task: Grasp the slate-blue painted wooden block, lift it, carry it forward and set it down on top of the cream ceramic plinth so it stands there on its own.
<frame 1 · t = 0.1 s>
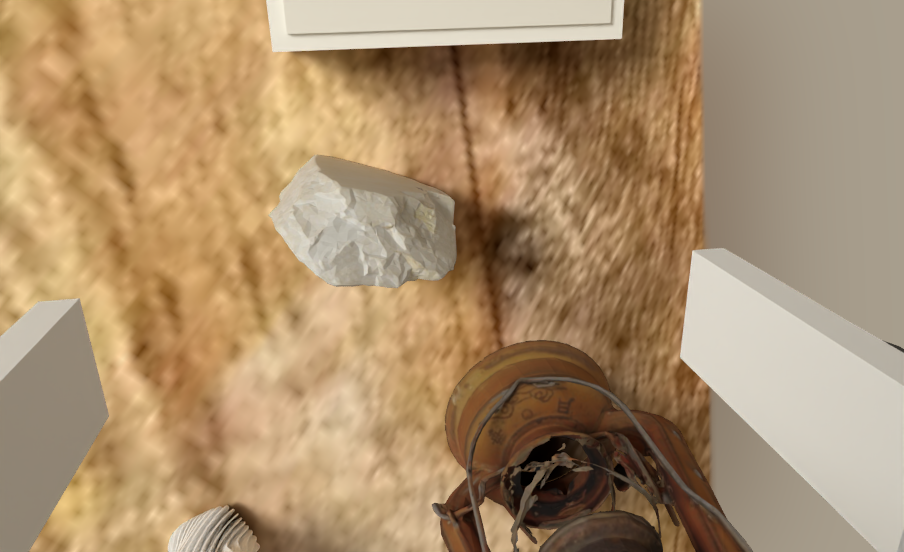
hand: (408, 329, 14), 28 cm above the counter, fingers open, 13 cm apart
white figurine: (216, 532, 49), on the counter
stone: (364, 194, 42), on the counter
lantern: (528, 415, 50), on the counter
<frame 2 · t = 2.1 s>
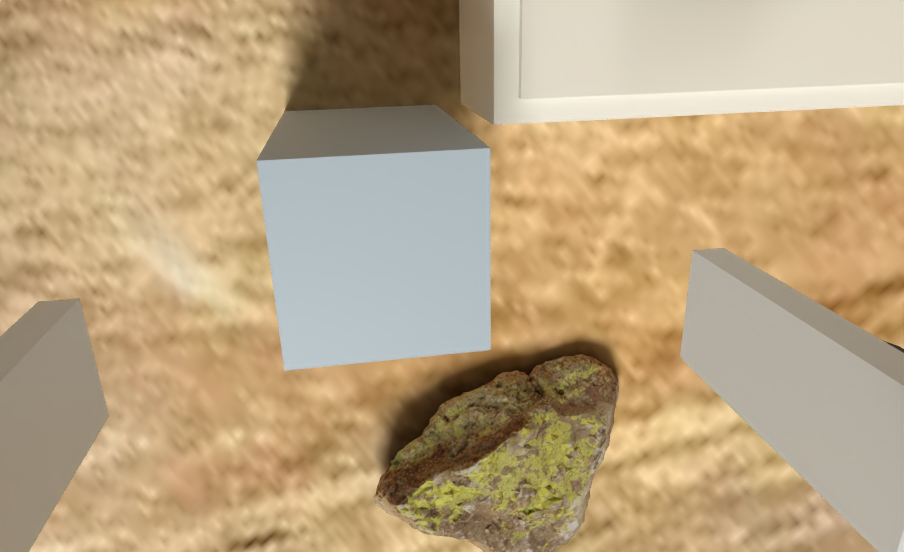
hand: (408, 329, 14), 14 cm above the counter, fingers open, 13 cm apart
block: (367, 181, 27), on the counter
rock: (505, 450, 34), on the counter
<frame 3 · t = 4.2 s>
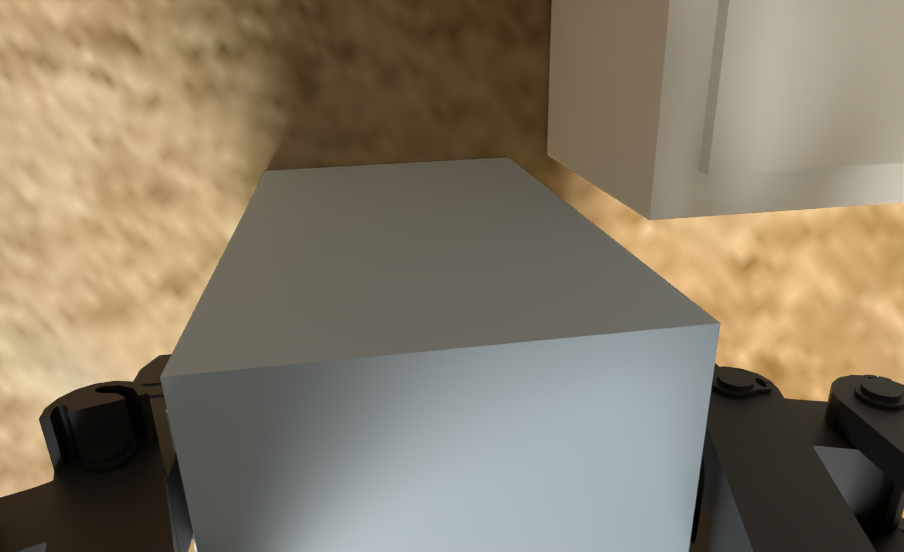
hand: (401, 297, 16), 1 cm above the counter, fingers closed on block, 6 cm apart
block: (396, 276, 17), on the counter, touching gripper
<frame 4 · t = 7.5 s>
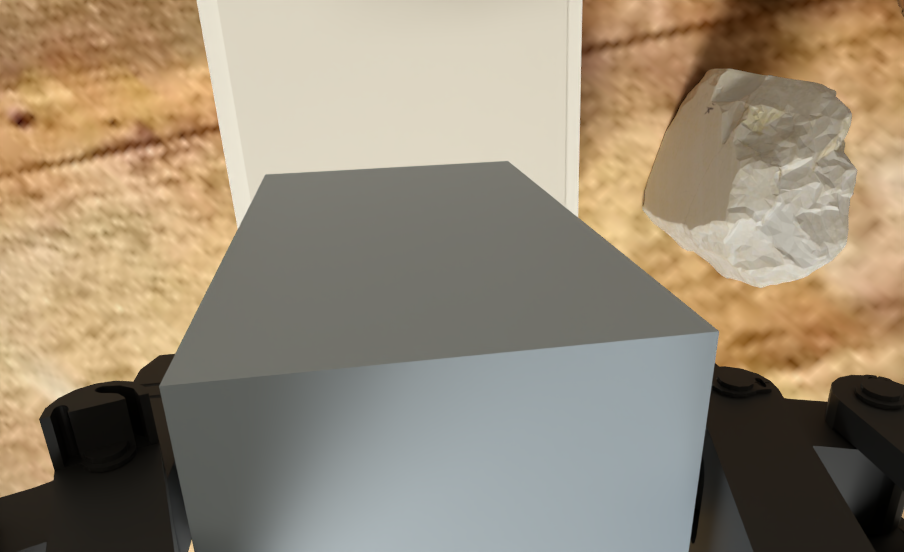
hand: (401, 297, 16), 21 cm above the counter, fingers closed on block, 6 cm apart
plinth: (393, 88, 34), on the counter
stone: (685, 155, 39), on the counter
block: (396, 280, 17), point 19 cm above the counter, touching gripper
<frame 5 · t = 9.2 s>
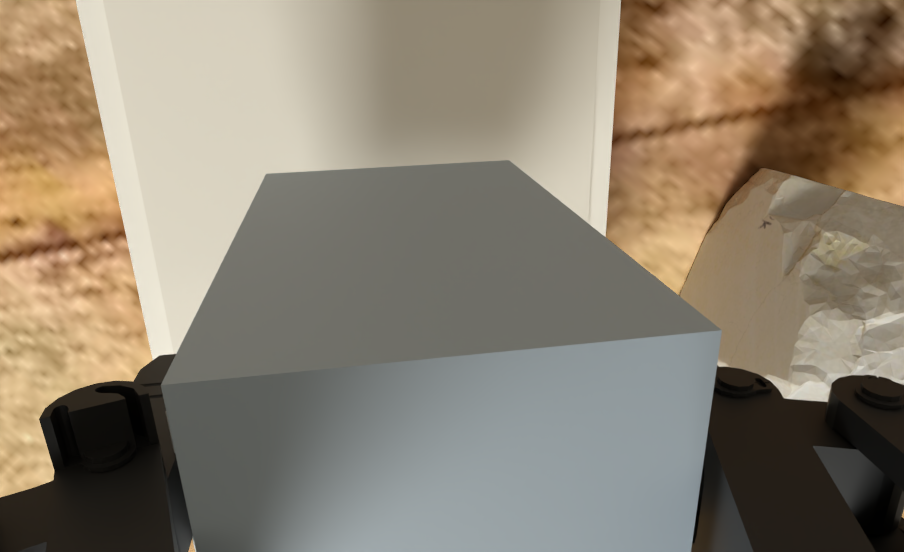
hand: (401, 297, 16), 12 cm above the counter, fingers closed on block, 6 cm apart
plinth: (371, 183, 27), on the counter
stone: (727, 262, 32), on the counter
block: (397, 279, 17), point 11 cm above the counter, touching gripper
when the fingers open (9 cm above the counter, at t = 10.6 s): block drops 1 cm, resting on plinth.
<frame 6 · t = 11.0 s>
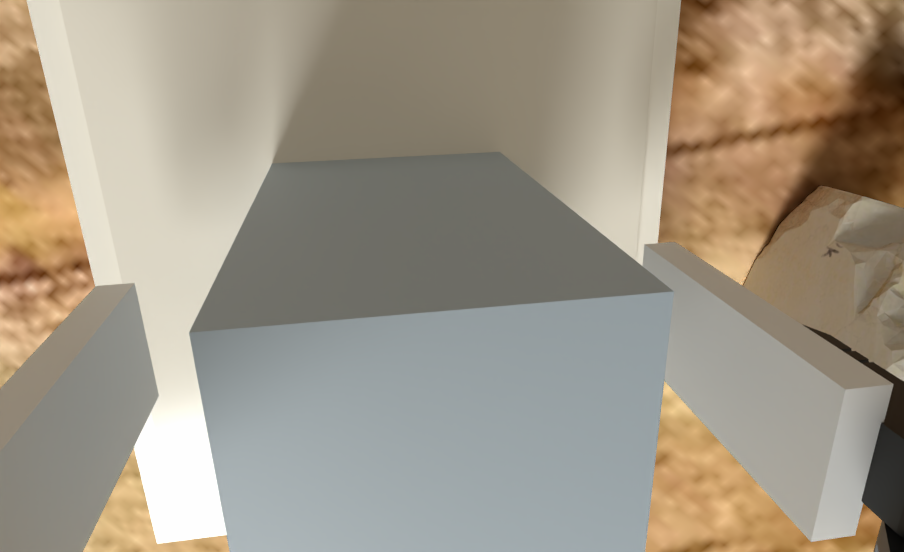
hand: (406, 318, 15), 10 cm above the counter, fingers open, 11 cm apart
plinth: (380, 204, 24), on the counter
stone: (777, 289, 28), on the counter
block: (394, 264, 18), point 6 cm above the counter, touching plinth
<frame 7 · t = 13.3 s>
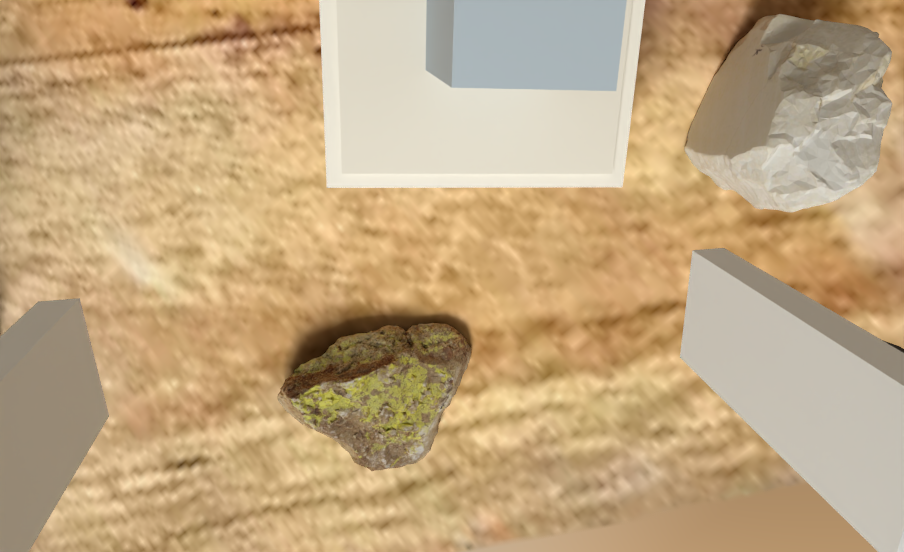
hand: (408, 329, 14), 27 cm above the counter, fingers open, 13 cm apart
plinth: (468, 8, 37), on the counter
stone: (728, 102, 41), on the counter
block: (488, 6, 31), point 6 cm above the counter, touching plinth
rock: (382, 387, 46), on the counter
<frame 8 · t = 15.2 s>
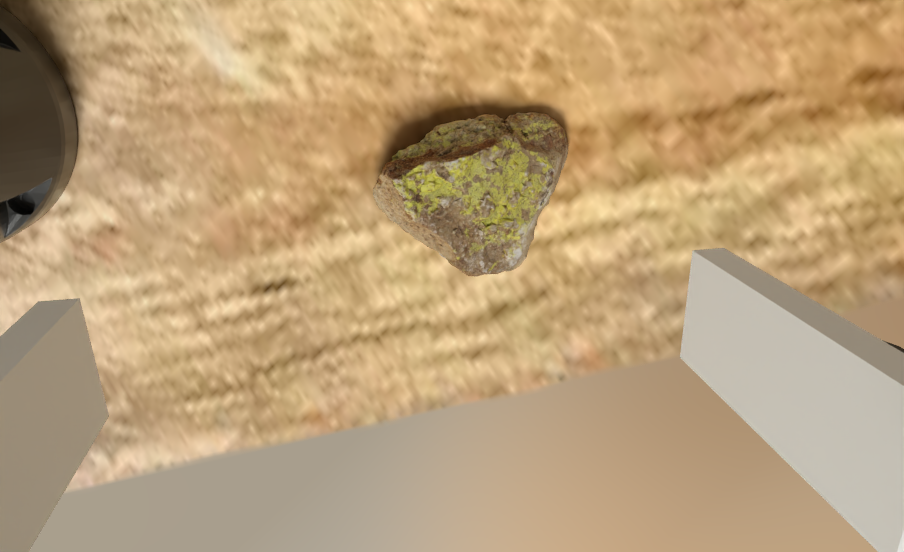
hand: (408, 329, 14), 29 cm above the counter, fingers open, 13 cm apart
rock: (475, 192, 44), on the counter
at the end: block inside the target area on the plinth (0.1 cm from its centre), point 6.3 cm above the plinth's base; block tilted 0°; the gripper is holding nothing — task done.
